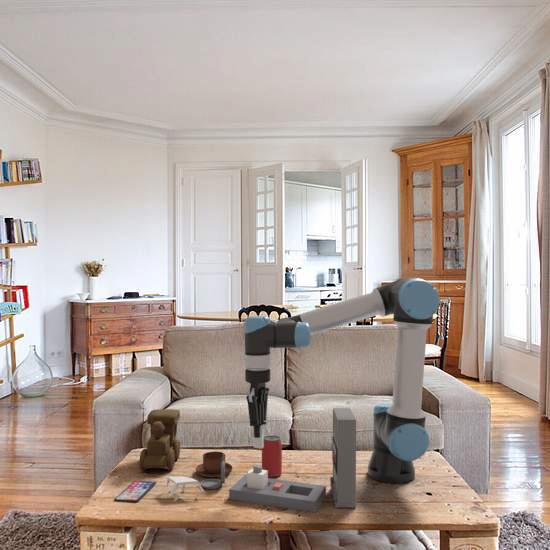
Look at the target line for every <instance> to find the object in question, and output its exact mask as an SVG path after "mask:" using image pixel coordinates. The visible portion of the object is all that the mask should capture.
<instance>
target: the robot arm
mask: <svg viewBox="0 0 550 550" xmlns="http://www.w3.org/2000/svg"><path fill="white" fill-rule="evenodd" d="M439 306H440V294H439V292H438V289H437V288H436V287H435V286H434V285H433V284H432V283H431V282H430V281H428V280H424V279H423V278H419V277H417V278H410V277H403V278H398V279H396V280H393V281H391V282H388V283H386V284H383V285H380V286H378V287H374V288H373V289H372V291H371V292H369V293H365V294H363V295H359V296H356V297H352V298H349V299H345V300H343V301H338V302H337V303H333V304H329V305H325V306H323V307H319V308H316V309H313V310H310V311H309V310H308V311H306V312H303V313H299V314H296V315H293V316H290V317H286V316H285V317H283V318H282V317H281V318H279V319H278V320H277V322H271V319H270V317H269V316H267V315H253V316H252V315H251V316H248V317H246V318H245V320H244V357H243V360H244V362H245V364H244V366H245V368H246V369H245V370H244V378H245V379H244V381H245V382H247V383H249V385H250V387H249V395H246V401H247V408H248V418H249V426H250V427H252V428H253V429H252V431H253V433H252V434H253V438H252V439H253V440H252V441H253V444H252V445H253V448H255V449H262V448H263V447H264V437H265V435H264V433H265V431H264V429H265V428H264V426H265V425H267V416H268V413H267V412H268V401H269V400H268V398H269V391H270V389H269V387H267V385H266V384H267V383H269V382H271V369H270V367H271V349H277V348H278V349H279V348H280V349H282V348H284V349H290V348H291V349H294V348H295V349H296V348H297V349H300V348H308V347H309V346H310V344H311V336H312V335H316V334H319V333H323V332H327V331H329V330H332V329H337V328H339V327H342V326H345V325H349V324H351V323H355V322H359V321H363V320H365V319H370V318H372V317H376V316H381V317H387V316H390V315H393V318H392V319H393V320H392V321H393V323H394V324H395V325H396V326H397V332H396V333H397V334H396V348H395V360H394V362H395V363H394V374H393V386H392V387H393V388H392V389H393V390H392V402H391V403H380V404H376V405H375V406H374V408H373V413H372V416H373V433H372V434H373V446H372V447H373V448H372V449H373V450H372V454H371V456H370V458H369V462H368V464H367V474H368V476H369V477H370V478H372V479H374V480H376V481H380V482H384V483H391V484H402V483H408V482H410V481H413V480H414V479H415V478H416V470H415V466H414V462H413V461H417V460H419V459H420V458H421V457H423V456H424V455H425V453H427V451H428V449H429V446H430V438H429V437H430V436H429V434H428V431H427V430H426V419H427V418H426V416H427V414H426V413H425V412H424V410H423V409H422V400H423V386H424V374H425V373H424V372H425V361H426V358H425V357H426V345H427V344H426V343H427V334H428V333H427V331H428V329H429V328H430V327H432V326H433V324H434V323H433V321H434V320H433V319H434V315H435V314H436V312H437V310H438V309H439Z"/></svg>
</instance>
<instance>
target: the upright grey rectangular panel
mask: <svg viewBox="0 0 550 550" xmlns="http://www.w3.org/2000/svg"><path fill="white" fill-rule="evenodd" d="M352 411H353V410H352V409H351V408H350V407H333V408H332V436H331V437H332V443H331V444H332V447H331V448H332V449H331V450H332V453H331V454H332V455H331V456H332V476H331V474H330V475H329V477H330V478H329V479H330V482H329V483H330V484H329V486H330V492H331V495H332V499H333V503H334V507H335V508H336V509H339V508H352V509H356V508H357V501H356V500H357V497H356V496H357V490H356V489H357V478H356V477H357V419H356V417H355V415H354V413H353V412H352Z"/></svg>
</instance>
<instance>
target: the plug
mask: <svg viewBox="0 0 550 550" xmlns="http://www.w3.org/2000/svg"><path fill="white" fill-rule="evenodd" d="M246 475H247V488H255V489H262V490H265V489H266V488H267V487H268V478H269V477H268V470H262V464H261V465H260V464H255V465H253V467H252V468H251V469H250V470H248V471H247V473H246Z"/></svg>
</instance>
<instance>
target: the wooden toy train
mask: <svg viewBox="0 0 550 550" xmlns="http://www.w3.org/2000/svg"><path fill="white" fill-rule="evenodd" d="M180 413H181V410H180V409H175V408H172V409H171V408H169V409H167V408H166V409H165V408H162V409H160V408H159V409H152V410H150V412H149V413H148V414H147V417H146V418H147V424H146V425H150V428H149V429H150V430H149V431H150V437H149V438H148V441H147V444H146V448H142V450H141V451H140V454H139V464H138V465H139V469H140V470H141V471H143V472H144V471H146V470H147V469H166V470H167V471H173V469H174V467H175V461H177V460H179V459H180V455H181V441H180V439H177V433H178V431H177V429H178V422H179V421H180V418H181V416H180Z"/></svg>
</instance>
